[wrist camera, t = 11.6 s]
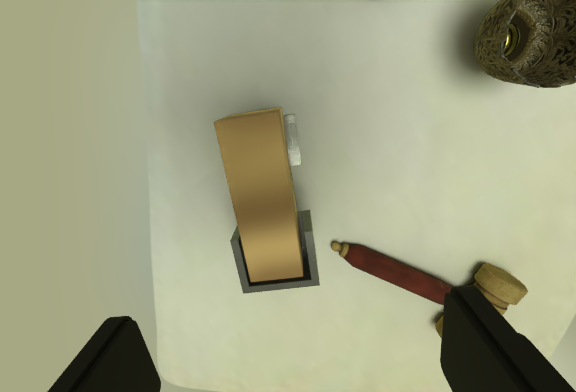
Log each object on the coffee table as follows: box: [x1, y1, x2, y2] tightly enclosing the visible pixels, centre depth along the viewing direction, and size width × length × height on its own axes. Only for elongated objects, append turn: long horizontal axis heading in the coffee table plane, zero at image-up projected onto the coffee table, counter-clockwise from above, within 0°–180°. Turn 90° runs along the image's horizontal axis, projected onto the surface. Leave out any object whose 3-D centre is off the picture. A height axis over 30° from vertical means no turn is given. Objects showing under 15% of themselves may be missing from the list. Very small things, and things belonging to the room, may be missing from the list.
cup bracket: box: [231, 210, 320, 293], centre depth 28 cm, size 5×6×10 cm
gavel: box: [331, 242, 528, 338], centre depth 33 cm, size 21×5×10 cm
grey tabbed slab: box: [283, 114, 301, 166], centre depth 26 cm, size 4×6×6 cm, turn 98°
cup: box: [473, 0, 576, 88], centre depth 22 cm, size 8×7×8 cm
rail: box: [214, 107, 303, 282], centre depth 22 cm, size 12×4×5 cm, turn 9°
